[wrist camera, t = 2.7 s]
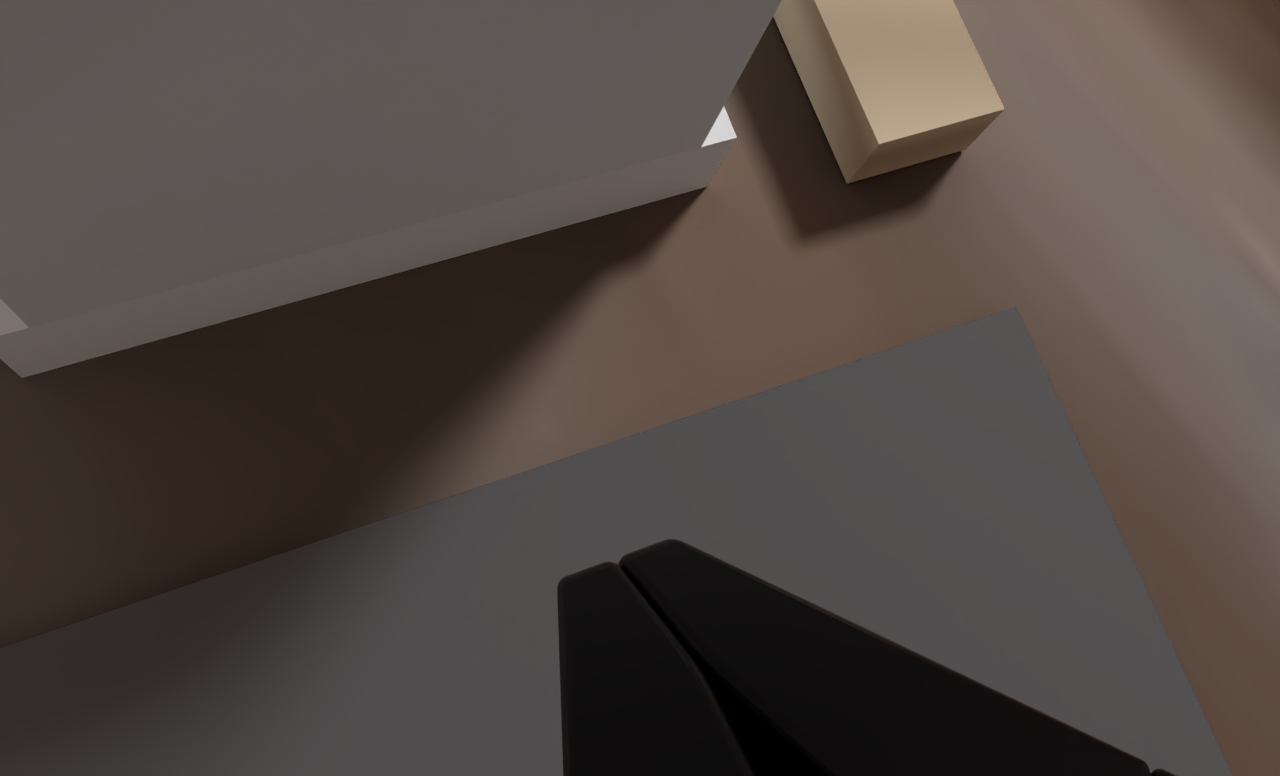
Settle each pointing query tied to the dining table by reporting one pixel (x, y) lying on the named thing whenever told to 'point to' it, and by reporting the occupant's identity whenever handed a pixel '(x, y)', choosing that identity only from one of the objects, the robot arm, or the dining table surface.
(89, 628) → the mat
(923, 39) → the channel
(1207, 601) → the dining table surface
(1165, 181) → the dining table surface
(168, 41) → the white l-shaped bracket
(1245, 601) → the dining table surface
